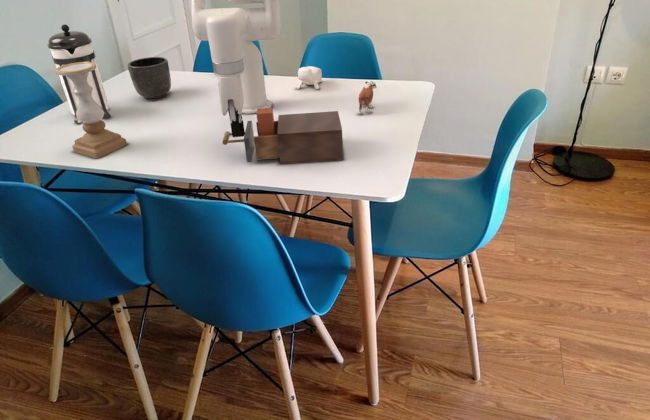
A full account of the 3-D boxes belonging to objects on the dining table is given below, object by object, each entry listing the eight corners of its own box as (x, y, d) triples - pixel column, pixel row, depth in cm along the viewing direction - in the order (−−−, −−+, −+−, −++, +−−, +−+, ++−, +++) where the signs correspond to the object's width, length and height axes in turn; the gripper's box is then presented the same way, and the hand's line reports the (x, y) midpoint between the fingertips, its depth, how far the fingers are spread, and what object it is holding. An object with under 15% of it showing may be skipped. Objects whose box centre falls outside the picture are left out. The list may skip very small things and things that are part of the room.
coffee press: (127, 110, 172) (102, 19, 157) (91, 126, 160) (61, 30, 144) (91, 105, 179) (64, 17, 163) (54, 120, 167) (21, 28, 151)
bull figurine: (378, 102, 166) (378, 78, 162) (368, 117, 156) (368, 91, 151) (365, 101, 168) (365, 78, 163) (354, 116, 157) (354, 91, 153)
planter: (182, 93, 185) (175, 58, 178) (153, 105, 175) (145, 69, 168) (157, 88, 192) (149, 55, 185) (128, 100, 182) (118, 64, 175)
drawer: (223, 164, 130) (219, 140, 126) (228, 144, 140) (225, 122, 137) (305, 158, 130) (304, 134, 127) (304, 139, 141) (303, 117, 137)
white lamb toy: (302, 90, 191) (291, 87, 177) (303, 67, 190) (291, 63, 175) (323, 90, 189) (314, 88, 175) (324, 67, 188) (315, 63, 173)
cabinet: (280, 164, 130) (277, 134, 126) (281, 143, 142) (278, 114, 137) (343, 160, 130) (342, 129, 126) (339, 139, 142) (337, 110, 137)
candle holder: (96, 158, 139) (69, 74, 126) (73, 151, 144) (44, 69, 131) (128, 144, 146) (105, 63, 134) (104, 138, 152) (80, 59, 139)
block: (261, 151, 133) (256, 114, 127) (262, 144, 136) (257, 108, 131) (276, 150, 133) (271, 113, 128) (276, 144, 136) (272, 107, 131)
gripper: (217, 60, 129) (227, 126, 139) (209, 76, 116) (221, 148, 126) (246, 58, 129) (254, 124, 139) (240, 74, 116) (250, 146, 126)
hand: (238, 135), depth 132 cm, fingers closed
